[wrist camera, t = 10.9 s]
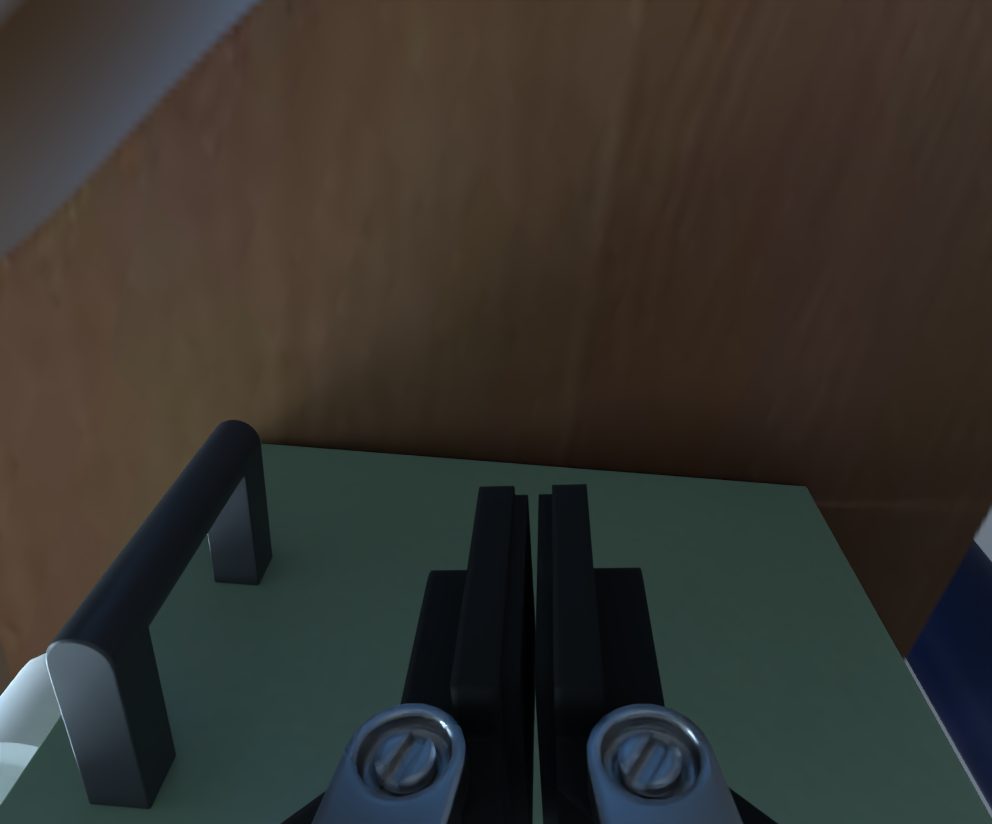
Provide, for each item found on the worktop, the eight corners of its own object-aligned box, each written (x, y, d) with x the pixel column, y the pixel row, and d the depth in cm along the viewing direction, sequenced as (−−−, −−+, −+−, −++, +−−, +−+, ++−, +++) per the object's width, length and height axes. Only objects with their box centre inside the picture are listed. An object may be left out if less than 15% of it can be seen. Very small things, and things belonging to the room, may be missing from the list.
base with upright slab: (183, 680, 43) (67, 900, 32) (155, 772, 47) (44, 994, 36) (23, 629, 42) (-151, 842, 31) (9, 729, 46) (-150, 946, 35)
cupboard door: (230, 324, 32) (-505, 1084, 9) (842, 371, 32) (1600, 1279, 9) (246, 459, 35) (-274, 1265, 13) (801, 503, 35) (1283, 1414, 12)
